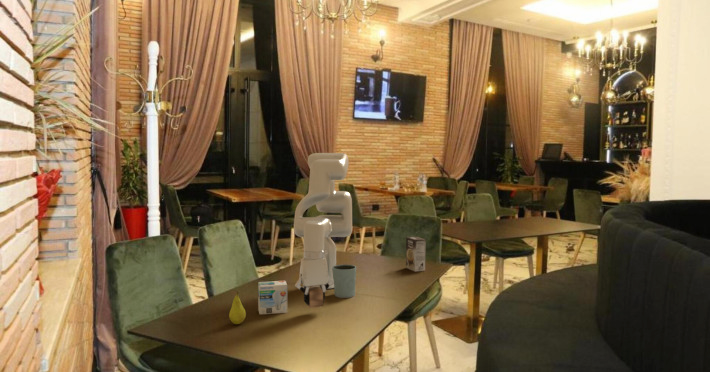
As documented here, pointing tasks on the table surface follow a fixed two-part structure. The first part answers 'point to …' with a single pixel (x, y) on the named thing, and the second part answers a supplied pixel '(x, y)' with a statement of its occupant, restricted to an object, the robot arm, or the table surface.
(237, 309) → the fruit
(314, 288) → the walnut block
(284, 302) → the light bulb box
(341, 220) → the robot arm
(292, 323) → the table surface
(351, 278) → the blue cup
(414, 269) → the coffee box
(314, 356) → the table surface
